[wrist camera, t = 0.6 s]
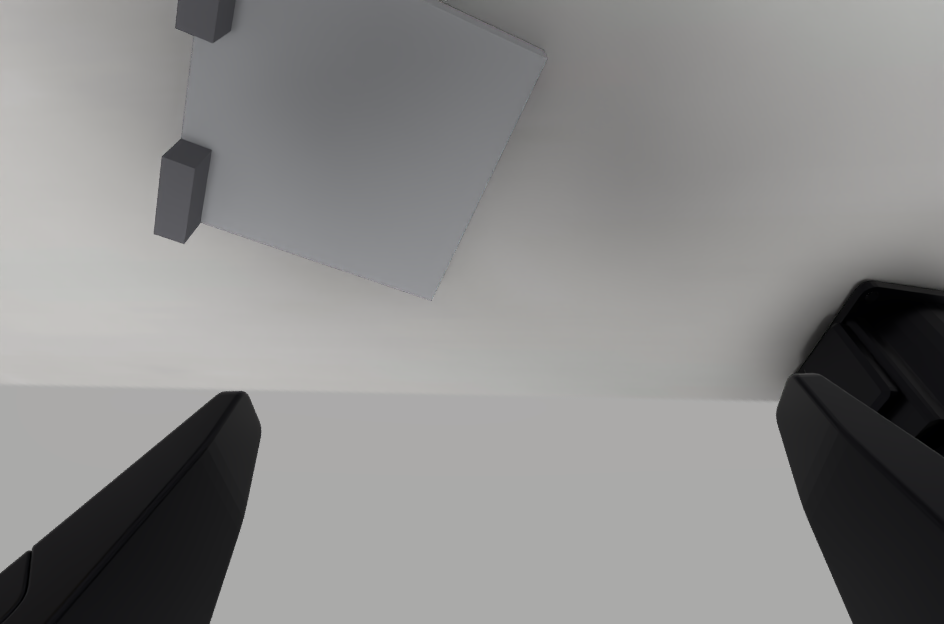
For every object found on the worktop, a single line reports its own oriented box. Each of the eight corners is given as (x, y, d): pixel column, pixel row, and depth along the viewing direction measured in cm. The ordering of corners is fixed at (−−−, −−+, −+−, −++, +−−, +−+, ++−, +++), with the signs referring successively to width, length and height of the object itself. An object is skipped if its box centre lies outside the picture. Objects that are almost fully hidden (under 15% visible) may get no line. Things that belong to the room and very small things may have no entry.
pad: (544, 50, 19) (552, 73, 17) (432, 286, 24) (429, 324, 22) (223, -101, 16) (188, -95, 14) (183, 200, 22) (153, 234, 20)
